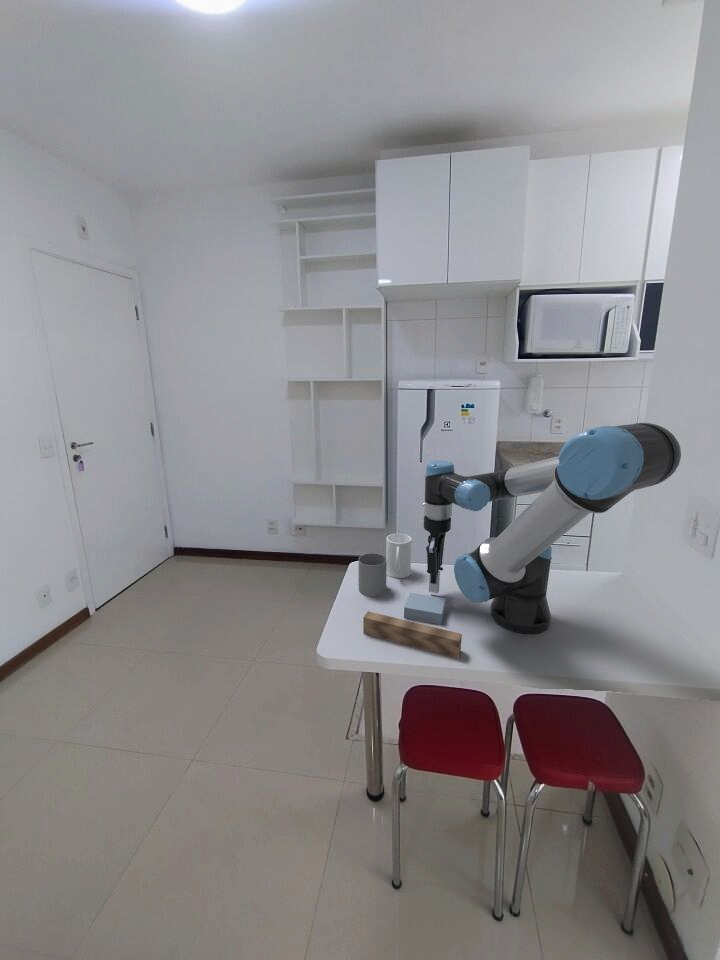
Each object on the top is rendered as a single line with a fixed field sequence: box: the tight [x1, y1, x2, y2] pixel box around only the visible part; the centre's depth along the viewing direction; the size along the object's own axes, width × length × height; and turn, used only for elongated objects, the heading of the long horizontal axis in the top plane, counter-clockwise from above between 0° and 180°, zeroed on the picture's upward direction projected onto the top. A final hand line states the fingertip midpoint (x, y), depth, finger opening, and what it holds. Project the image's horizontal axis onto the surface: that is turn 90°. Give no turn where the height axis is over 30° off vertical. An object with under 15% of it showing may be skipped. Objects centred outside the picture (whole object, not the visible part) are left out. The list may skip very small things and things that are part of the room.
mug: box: [385, 533, 413, 579], centre depth 136 cm, size 12×8×12 cm
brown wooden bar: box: [362, 610, 463, 659], centre depth 104 cm, size 24×3×4 cm, turn 67°
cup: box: [358, 552, 387, 597], centre depth 128 cm, size 8×8×10 cm
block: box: [403, 592, 447, 625], centre depth 116 cm, size 10×8×4 cm
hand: (433, 591), depth 125 cm, fingers closed
